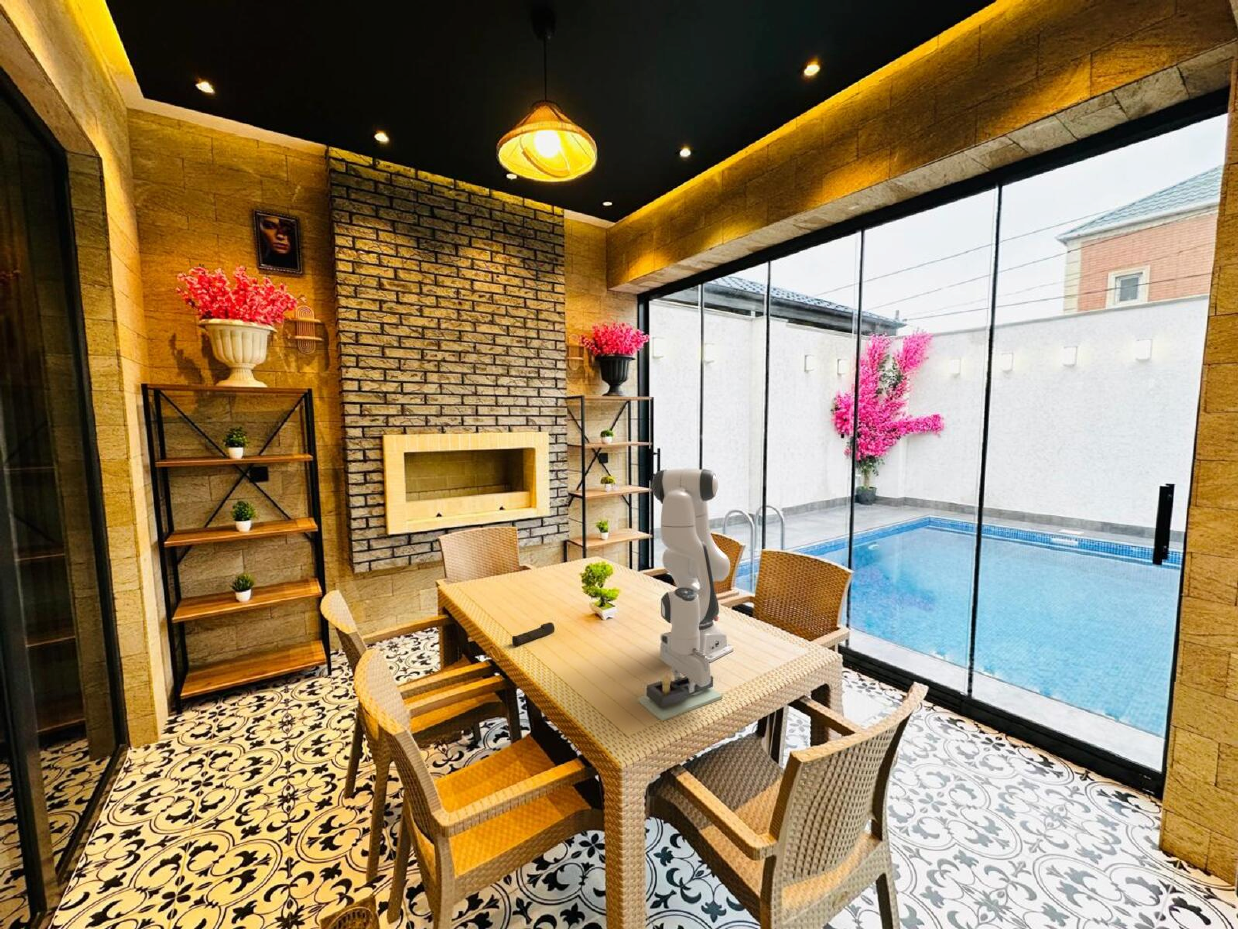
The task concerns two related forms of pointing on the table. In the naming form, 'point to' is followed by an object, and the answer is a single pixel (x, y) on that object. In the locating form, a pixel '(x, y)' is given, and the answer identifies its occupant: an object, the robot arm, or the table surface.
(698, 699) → the keeper board
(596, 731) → the table surface
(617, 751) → the table surface
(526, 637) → the hand tool
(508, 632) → the table surface
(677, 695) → the grey hollow frame
